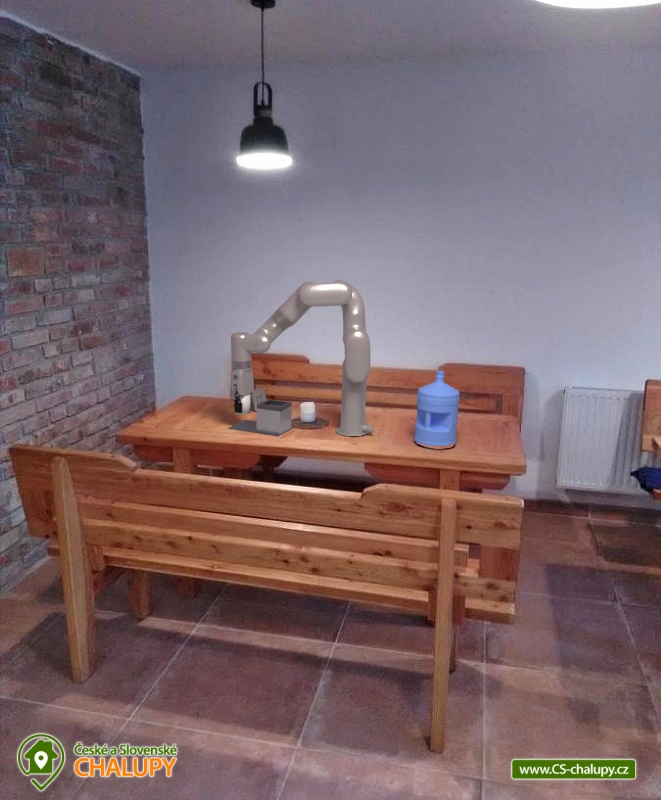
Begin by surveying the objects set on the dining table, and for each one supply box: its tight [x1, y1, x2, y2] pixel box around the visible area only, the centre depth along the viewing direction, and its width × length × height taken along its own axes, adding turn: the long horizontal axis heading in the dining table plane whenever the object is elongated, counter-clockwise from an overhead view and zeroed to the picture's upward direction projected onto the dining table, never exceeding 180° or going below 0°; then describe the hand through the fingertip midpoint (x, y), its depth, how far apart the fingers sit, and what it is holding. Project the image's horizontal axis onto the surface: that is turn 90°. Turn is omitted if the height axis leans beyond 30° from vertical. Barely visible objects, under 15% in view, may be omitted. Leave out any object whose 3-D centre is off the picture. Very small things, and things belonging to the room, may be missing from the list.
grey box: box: [226, 398, 296, 439], centre depth 254 cm, size 22×16×12 cm
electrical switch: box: [251, 387, 267, 412], centre depth 287 cm, size 9×5×9 cm, turn 152°
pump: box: [230, 394, 252, 415], centre depth 252 cm, size 8×6×8 cm
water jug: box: [413, 370, 461, 446], centre depth 243 cm, size 16×16×28 cm
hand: (242, 410), depth 252 cm, fingers closed on pump, 6 cm apart
